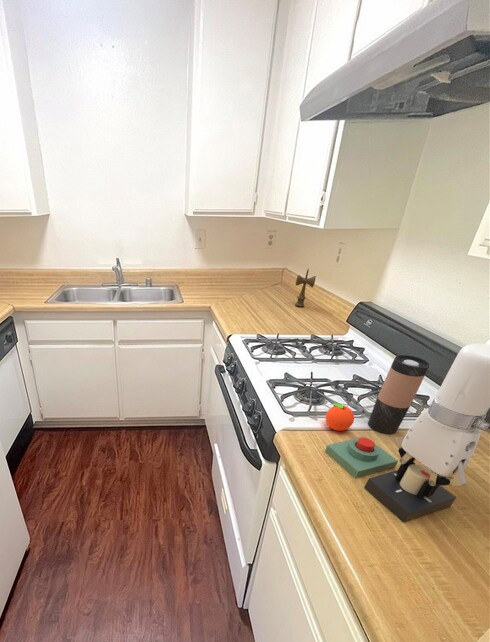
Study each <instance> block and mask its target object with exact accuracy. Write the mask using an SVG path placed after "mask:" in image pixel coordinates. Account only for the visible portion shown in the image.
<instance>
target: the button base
mask: <svg viewBox="0 0 490 642" xmlns="http://www.w3.org/2000/svg"><path fill="white" fill-rule="evenodd" d="M359 438H367V437H366V436H362V437H356V438H352V439H347V440H343V441H340V442H334V443H330V444H327V445H326V448H325V450H324V452H325V453H326V454H327V455H328V456H329V457H330V458H331V459H333V461H334V462H336V463H337V464H338V465H339V466H340V467H342V468H343V469H344V470H345V471H346V472H347V473H349V474H350V475H351V476H352V477H353V478H354V479H359V478H362V477H365V476H369V475H372V474H376V473H381V472H385V471H387V470H392V469H395V468H396V466H397V465H398V462H399V460H398V459H397V458H396V457H394V456H393V455H391V454H390V453H388V452H387V451H386V450H384V449H383V448H382V447H381V446H379V445H378V444H376V443H375V446H374V448H373V451H372V452H370V453H369V452H363V451H361V450H359V449H358V448H356V444H357V441H358V439H359Z"/></svg>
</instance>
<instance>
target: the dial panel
mask: <svg viewBox="0 0 490 642" xmlns="http://www.w3.org/2000/svg"><path fill="white" fill-rule="evenodd" d="M397 471H398V469H397V470H394V471H390V472H387V473H383V474H379V475H376V476H371V477H369V478H368V479H367V481H366V483H365V486H364V488H363V489H365V491H367V492H368V493H369V494H370V495H371V496H372V497H374V499H376V500H377V501H378V502H379V503H380V504H382V505H383V506H384V507H385V508H386V509H387V510H388V511H390V513H391V514H393V515H394V516H395V517H396V518H397V519H399V520H400V521H401V522H402V523H407V522H411V521H413V520H414V521H415V520H416V519H419V518H422V517H425V516H429V515H431V514H434V513H437V512H440V511H443V510H446V509H448V508H451V506H452V505H453V504H454V502H455V501H456V499H457V496H456V495H455V494H454V493H451V492H450V491H449V490H447V489H446V488H444V487H443V485H439V486H438V488H437V489H436V491H435V492H434V494H433V495H432V496H429V497H428V496H426V497H422V498H419V497H417V495H414V494H411V493H409V492H407V491H405V490H404V489H403V488H402V487H401V486H400V481H401V480H399V481H398V480H396V479H395V477H396V475H397V474H398V473H397Z"/></svg>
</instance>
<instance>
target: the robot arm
mask: <svg viewBox="0 0 490 642" xmlns="http://www.w3.org/2000/svg"><path fill="white" fill-rule="evenodd" d="M489 410H490V338H488V340H487V341H486V342H485V343H470V344H466V345H464V346H462V348H461V349H460V350H459V352H458V353H457V355H456V356H455V359H454V360H453V362H452V364H451V367H450V368H449V370H448V371H447V374H446V376H445V377H444V379H443V381H442V383H441V385H440V387H439V389H438V390H437V392H436V395H435V397H434V399H433V400H432V402H431V404H430V406H429V407H427V408H425V409H424V410H423V411H422V412H421V413H420V414H419V415H418V417H417V418H416V419H415V421H413V423H412V424H411V426H410V427H409V429H408V430H407V432H406V434H405V435H402V436H400V437H396V438H395V439H394V443H395V445H396V447H397V449H398V454H399V457H400V459H399V463H400V465H399V467H398V469H397V470H398V471H397V470H396V471H397V473H398V474H397V475H396V477H395V479H396V480H398V481H399V480H401V479H402V478H403V476H404V474H405V472H406V470H407V468H408V467H409V465H412V464H416V462H415V461H418V462H419V463H421V464H422V465H424V467H426V468H428V469H429V470H430V471H431V474H430V478H429V481H426V482H424V484H423V485H422V487H421V489H420V490H419V492H418V494H417V497H419V498H422V497H426V496H428V497H429V496H432V495H433V494H434V492H435V491H436V489H437V488H438V486H439V485H440V486H451V487H452V486H453V487H464V486H466V485H467V479H466V474H465V469H466V467H467V466H468V465H469V463H470V461H471V459H472V457H473V456H474V453H475V451H476V450H477V446H478V444H479V441H480V438H481V434H482V431H486V430H488V429H489V428H490V423H489V422H487V421H486V420H485V419H486V417H487V413H488V412H489ZM451 473H452V476H449V475H450V474H451Z"/></svg>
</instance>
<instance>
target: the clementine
mask: <svg viewBox="0 0 490 642" xmlns="http://www.w3.org/2000/svg"><path fill="white" fill-rule="evenodd" d="M329 406H332V407H330V408H329V409H328V410H327V412H326V414H325V422H326V424H327V426H328V427H329V428H330V429H331V430H334V431H338V432H339V431H345V430H348V429H349V428H351V426H353V424H354V421H355V414H354V412H353V410H352V409H351V408H349V406H347V405H344V404H340V403H330V404H329ZM325 408H327V406H325Z"/></svg>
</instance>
